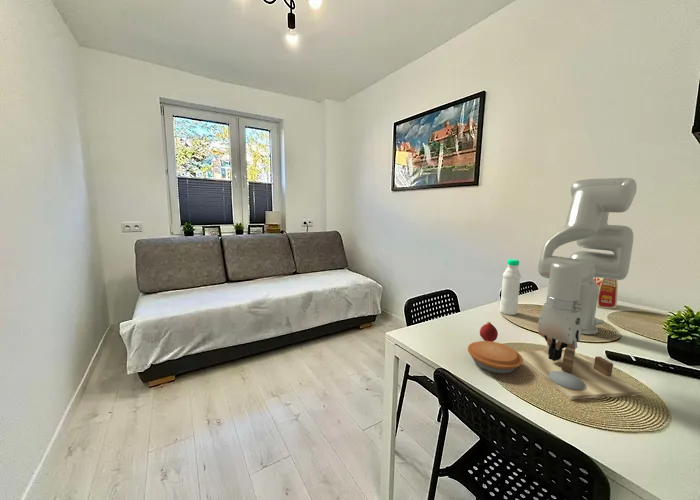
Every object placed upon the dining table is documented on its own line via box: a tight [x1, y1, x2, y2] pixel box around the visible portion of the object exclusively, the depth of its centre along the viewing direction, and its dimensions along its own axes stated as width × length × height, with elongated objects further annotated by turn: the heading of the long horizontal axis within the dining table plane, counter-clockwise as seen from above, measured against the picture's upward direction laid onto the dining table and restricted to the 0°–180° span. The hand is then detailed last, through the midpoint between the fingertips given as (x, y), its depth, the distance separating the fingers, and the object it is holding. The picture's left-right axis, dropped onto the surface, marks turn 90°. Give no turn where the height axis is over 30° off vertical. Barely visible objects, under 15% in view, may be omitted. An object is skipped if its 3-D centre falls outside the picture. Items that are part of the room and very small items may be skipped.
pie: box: [467, 340, 524, 375], centre depth 90 cm, size 16×16×5 cm
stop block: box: [593, 356, 614, 376], centre depth 84 cm, size 2×4×4 cm, turn 5°
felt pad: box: [549, 371, 585, 390], centre depth 80 cm, size 8×8×1 cm
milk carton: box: [593, 277, 619, 310], centre depth 142 cm, size 9×9×20 cm
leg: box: [562, 347, 576, 373], centre depth 88 cm, size 13×2×4 cm, turn 140°
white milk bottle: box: [499, 258, 522, 316], centre depth 131 cm, size 7×7×25 cm
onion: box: [479, 321, 499, 342], centre depth 103 cm, size 6×6×8 cm
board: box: [517, 349, 642, 401], centre depth 85 cm, size 20×22×1 cm
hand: (554, 358), depth 89 cm, fingers closed
